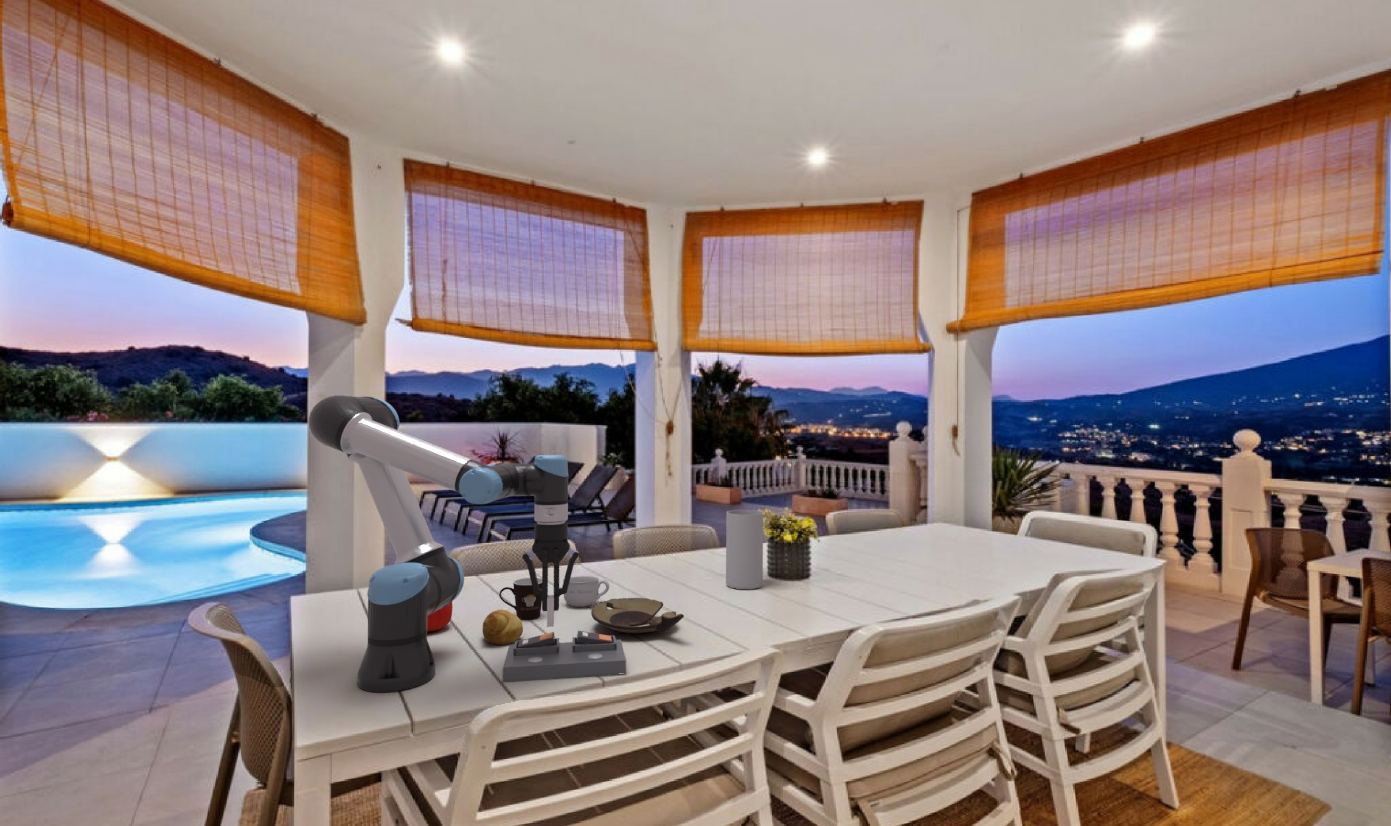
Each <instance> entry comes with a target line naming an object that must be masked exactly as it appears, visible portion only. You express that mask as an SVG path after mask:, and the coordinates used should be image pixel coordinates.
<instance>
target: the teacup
mask: <svg viewBox="0 0 1391 826" xmlns="http://www.w3.org/2000/svg"><path fill="white" fill-rule="evenodd" d="M562 581H563V582H564V579H563V580H562ZM563 582H562V583H563ZM601 584H604V586H605V588H604V590H603V591H602V592H600V593H599V589H600V587H601ZM609 589H610V584H609V582H608V581H607V580H605V579H601V580H600V578H599V577H597V576H591V575H590V576H589V575H578V576H577V575H576V576H571V578H570V582H569V586H568V590H567V593H566V594H563V599H564V601H565V603H567V604H568V606H571V607H576V608H580V607H581V608H583V607H589V606H591V605H593V604H594V603H595V602H596V601H597V600H600V599H601V597H602V596H604V595H605V594H607V593H608V591H609Z"/></svg>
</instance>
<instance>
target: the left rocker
mask: <svg viewBox="0 0 1391 826" xmlns="http://www.w3.org/2000/svg"><path fill="white" fill-rule="evenodd" d="M555 638H556V636H555V632H554V631H552V632H548V633H544V634H541V635H535V636H533V637H528V638H525V639H519V640H520V641H519V644H518V648H534V647H541V646H545V645H549V644H553V643H554V642H555Z"/></svg>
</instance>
